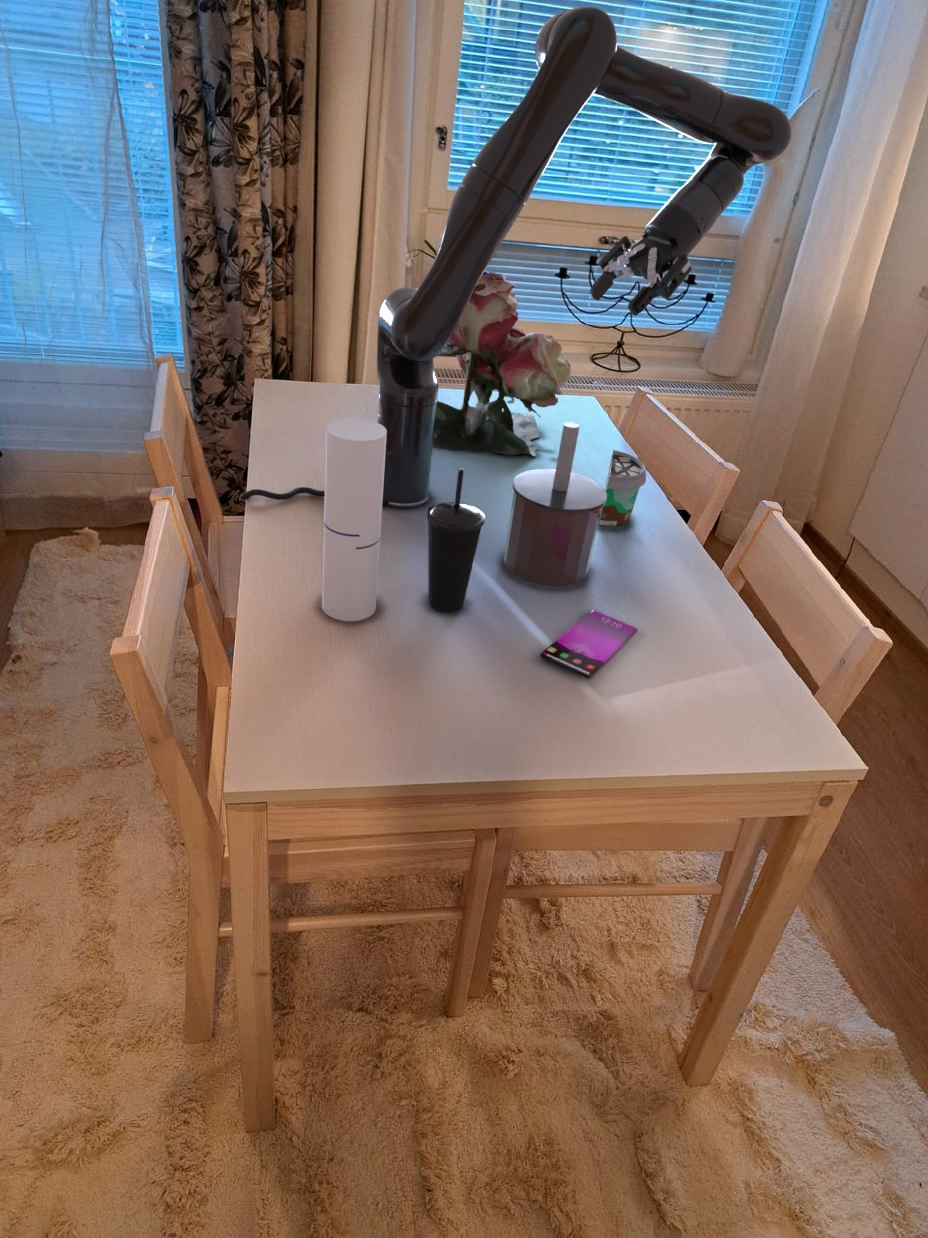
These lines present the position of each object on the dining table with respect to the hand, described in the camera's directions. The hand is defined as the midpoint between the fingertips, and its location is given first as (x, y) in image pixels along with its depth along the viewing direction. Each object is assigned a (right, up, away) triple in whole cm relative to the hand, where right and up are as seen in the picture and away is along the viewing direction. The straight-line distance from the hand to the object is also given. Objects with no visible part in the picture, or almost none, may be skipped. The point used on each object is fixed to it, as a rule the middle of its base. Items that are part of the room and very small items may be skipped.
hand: (612, 303), depth 131 cm
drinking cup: (-25, -45, -11) cm, 53 cm away
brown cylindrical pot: (-10, -40, +1) cm, 41 cm away
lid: (-9, -29, -6) cm, 31 cm away
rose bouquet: (-18, -9, +47) cm, 51 cm away
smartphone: (-6, -51, -16) cm, 54 cm away
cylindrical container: (-38, -46, -14) cm, 61 cm away
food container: (+4, -31, +18) cm, 36 cm away
